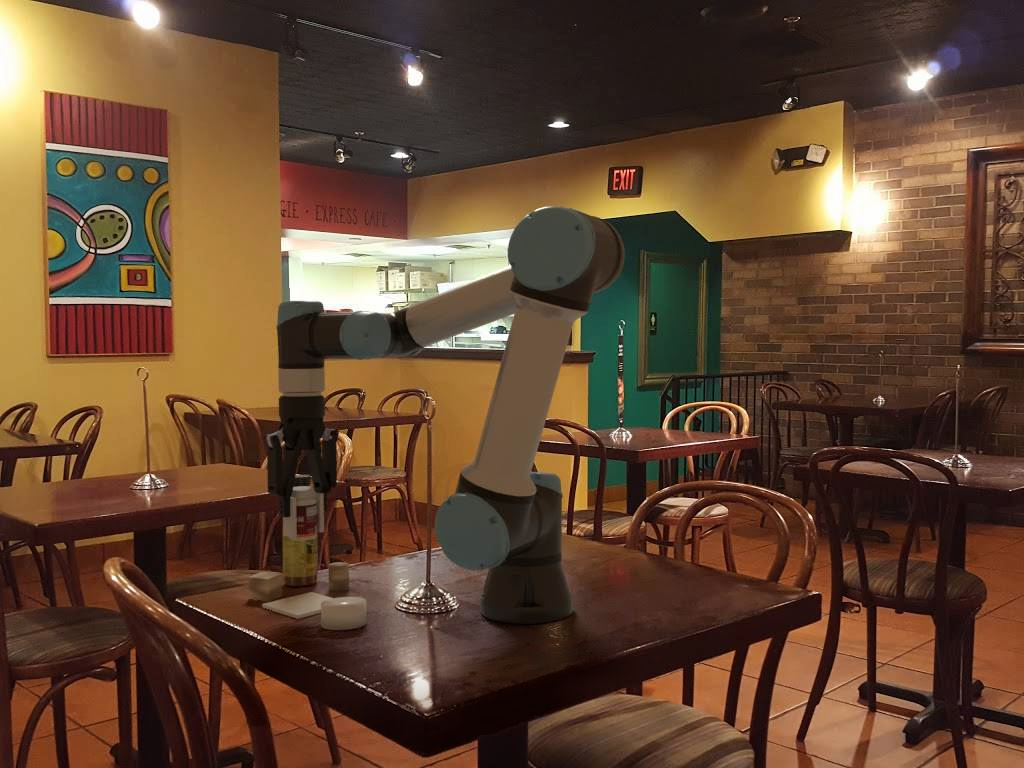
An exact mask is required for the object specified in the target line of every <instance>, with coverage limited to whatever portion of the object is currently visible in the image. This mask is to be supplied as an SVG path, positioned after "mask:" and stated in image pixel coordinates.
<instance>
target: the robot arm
mask: <svg viewBox="0 0 1024 768" xmlns="http://www.w3.org/2000/svg"><path fill="white" fill-rule="evenodd" d="M625 254H626V253H625V244H624V242H623V240H622V237H621V235H620V233H619V232H618V230H617V229H616V228H615V226H613V225H612V224H611V223H609V222H608V221H606V220H605V219H604V218H600V217H597V216H594V215H590V214H588V213H585V212H583V211H580V210H576V209H573V208H572V207H566V206H554V205H553V206H551V205H550V206H543V207H540V208H537V209H535V210H533V211H531V212H530V213H527V214H526V215H525V216H523V218H522V219H521V220H520V221H519V222H518V223H517V225H516V226H515V227H514V229H513V230H512V233H511V235H510V238H509V241H508V245H507V261H508V264H509V265H508V266H506V267H503V268H501V269H498V270H495V271H493V272H491V273H488V274H486V275H483V276H481V277H478V278H475V279H473V280H470V281H469V282H466V283H464V284H463V283H462V284H461V285H458V286H456V287H453V288H450V289H448V290H446V291H443V292H441V293H438V294H436V295H433V296H430V297H428V298H426V299H423V300H421V301H418V302H415V303H414V304H411V305H409V306H406V307H403V308H402V309H399V310H396V311H394V312H390V313H385V312H384V313H383V312H377V311H368V310H365V311H364V310H356V311H341V312H340V311H338V312H325V310H324V309H325V308H324V304H323V302H322V301H318V300H285V301H282V302H280V304H279V305H278V309H277V321H276V322H277V323H276V333H277V334H276V337H277V351H278V352H277V353H278V354H277V355H278V359H277V360H278V365H277V366H278V367H277V368H278V370H277V371H278V391H279V393H280V394H282V395H280V396H279V397H278V416H279V419H280V424H279V426H278V428H277V429H278V430H277V431H275V432H273V433H271V434H269V433H267V434H265V435H264V436H263V440H264V444H265V445H266V450H267V451H266V452H267V453H266V457H267V459H266V460H267V463H266V464H267V467H266V468H267V469H266V470H267V493H268V494H270V495H273V496H276V497H277V498H278V514H279V516H280V517H281V518H282V537H283V536H288V537H292V538H294V537H297V524H296V497H291V496H292V491H293V486H294V481H295V476H296V475H297V470H298V465H299V464H298V463H299V459H300V457H302V454H303V453H304V454H305V455H306V459H307V462H308V468H309V473H310V478H311V482H312V484H313V486H312V487H314V497H313V498H314V499H316V501H317V533H324V532H325V512H326V511H327V509H328V499H327V498H328V495H327V494H329V493H331V491H332V488H336V486H337V485H338V483H337V482H338V475H337V474H338V472H337V471H338V467H337V464H338V463H337V442H338V439H339V435H340V431H339V430H338V429H335V428H334V429H333V428H329V427H326V424H325V422H324V417H325V416H326V397H325V396H324V395H323V394H322V393H324V392H325V390H326V379H325V378H326V377H325V373H326V372H325V359H344V360H345V359H349V360H350V359H351V360H352V359H353V360H354V359H355V360H361V361H362V360H371V359H379V358H383V359H385V358H387V359H388V358H390V359H391V358H393V359H394V358H397V359H404V358H405V359H406V358H408V357H414V356H417V355H419V354H420V353H422V351H423V350H424V349H425V348H426V347H429V346H431V345H434V344H437V343H439V342H442V341H445V340H448V339H450V338H453V337H456V336H459V335H462V334H464V333H467V332H469V331H471V330H475V329H477V328H480V327H483V326H485V325H488V324H491V323H495V322H496V321H499V320H502V319H504V318H508V317H511V316H513V318H512V322H511V325H510V329H509V333H508V335H507V340H506V343H505V347H504V351H503V355H502V357H501V361H500V366H499V368H498V373H497V376H496V380H495V384H494V387H493V390H492V391H493V392H492V395H491V398H490V402H489V405H488V409H487V413H486V417H485V420H484V425H483V427H482V430H481V435H480V439H479V443H478V446H477V450H476V453H475V456H474V460H473V461H471V462H470V463H467V464H465V465H464V466H463V467H462V468H461V469H460V473H459V476H458V481H457V484H456V488H455V491H454V493H453V494H451V495H450V496H449V497H447V498H446V499H445V500H444V501H443V502H442V503H441V504H440V506H438V509H437V511H436V513H435V518H434V534H435V538H436V542H437V543H438V545H440V548H441V549H442V553H443V554H444V555H445V557H446V558H447V559H448V560H449V561H451V562H452V563H453V564H454V565H456V566H458V567H459V568H462V569H463V570H467V571H472V572H478V571H484V570H487V569H488V573H487V575H486V579H485V583H484V587H483V591H482V593H480V594H481V595H480V598H479V602H480V604H479V607H480V608H479V609H480V610H479V611H480V614H481V615H482V616H484V617H485V618H487V619H489V620H493V621H496V622H501V623H506V624H507V623H508V624H521V625H522V624H523V625H526V624H527V625H528V624H529V625H531V624H532V625H533V624H543V623H545V624H546V623H551V622H557V621H559V620H563V619H566V618H568V617H569V616H571V615H572V613H573V611H574V608H573V607H574V606H573V604H574V603H573V596H572V593H571V592H570V588H569V584H568V580H567V578H566V574H565V571H564V568H563V564H562V563H563V561H562V560H563V559H562V557H563V556H562V555H563V554H562V551H563V550H562V549H563V544H562V543H563V538H562V537H563V536H562V535H563V531H562V530H563V529H562V527H563V523H562V522H563V510H562V508H563V496H564V494H563V492H562V481H561V478H560V477H559V476H558V474H556V473H551V472H543V471H542V472H539V471H532V470H533V466H534V463H535V460H536V457H537V452H538V449H539V445H540V442H541V437H542V434H543V432H544V428H545V425H546V422H547V421H546V420H547V417H548V414H549V411H550V408H551V403H552V400H553V396H554V393H555V389H556V385H557V383H558V379H559V375H560V371H561V368H562V364H563V360H564V359H565V358H564V357H565V354H566V351H567V348H568V347H567V346H568V344H569V339H570V337H571V334H572V333H571V332H572V331H573V330H572V329H573V325H574V323H575V322H576V321H577V320H578V319H580V318H582V317H584V316H585V315H587V314H588V312H589V309H590V305H591V301H592V298H593V295H594V294H595V293H599V292H601V291H604V290H605V289H606V290H607V288H608V287H610V286H611V285H613V283H614V282H615V281H616V280H617V278H618V277H619V276H620V274H621V272H622V269H623V267H624V264H625ZM321 439H322V441H321ZM283 443H284V447H282V444H283Z"/></svg>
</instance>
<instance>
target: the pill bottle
mask: <svg viewBox="0 0 1024 768" xmlns="http://www.w3.org/2000/svg"><path fill="white" fill-rule="evenodd" d="M314 492H315V490H314V486H311V485H310V486H299V487H293V491H292V496H291V497H296V524H297V537H294V538H292V537H289V539H291V540H296V541H304V540H311V539H314V538H316V537H317V538H318V532H317V501H316V499H314V498H313V497H314Z"/></svg>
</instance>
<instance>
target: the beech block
mask: <svg viewBox="0 0 1024 768" xmlns="http://www.w3.org/2000/svg"><path fill="white" fill-rule="evenodd" d="M282 596H283V573H277V572H271V571H270V572H267V571H261V572H258V573H256V574H253V575H250V576H248V600H249V599H255V600H254V601H257V600H261V601H260V602H266V601H267V602H266V603H268V602H272V601H273V600H274V601H275V600H277V599H279V598H280V597H282Z"/></svg>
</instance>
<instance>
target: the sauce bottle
mask: <svg viewBox="0 0 1024 768" xmlns="http://www.w3.org/2000/svg"><path fill="white" fill-rule="evenodd" d="M311 482H312V477H311V475H310V474H296V476H295V481H294V486H293V487H299V486H310V487H311V484H312V483H311ZM318 549H319V548H318V536H317V537H316V538H314V539H311V540H304V541H296V540H291V539H289V537H288V536H283V535H282V576H283V583H284V585H286V586H288V587H306V586H310V585H314V584H316V583H317V580H318V574H319V573H318V572H319V563H318V562H319V560H318V559H319V558H318V556H319V555H318V553H319V552H318V551H319V550H318Z"/></svg>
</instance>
